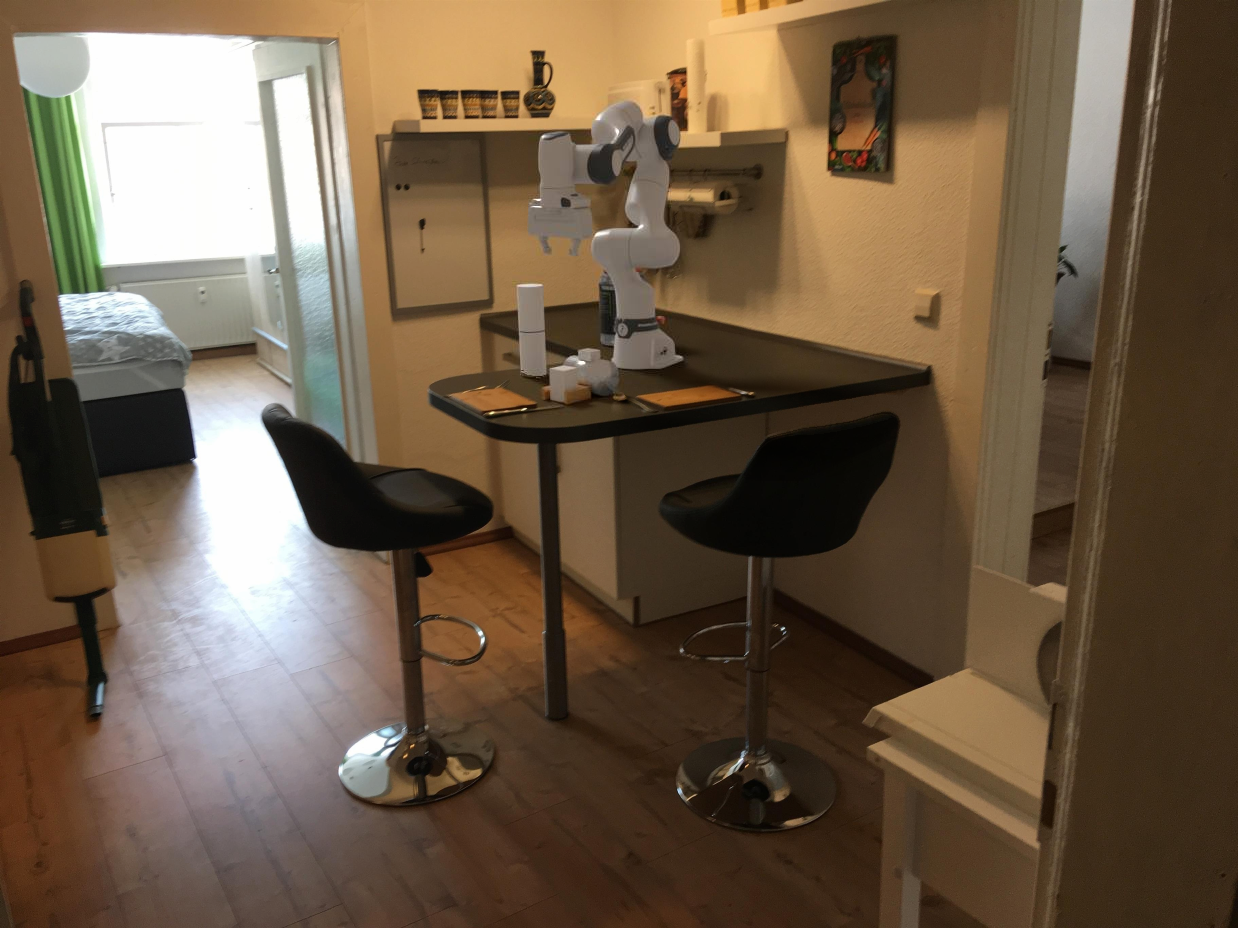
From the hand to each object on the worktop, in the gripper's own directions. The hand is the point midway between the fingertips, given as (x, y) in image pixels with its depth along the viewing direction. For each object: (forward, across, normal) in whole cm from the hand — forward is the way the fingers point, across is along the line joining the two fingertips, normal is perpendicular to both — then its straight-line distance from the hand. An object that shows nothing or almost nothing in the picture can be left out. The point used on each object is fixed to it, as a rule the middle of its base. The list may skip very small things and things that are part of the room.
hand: (560, 255), depth 256 cm
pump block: (+34, +11, -12) cm, 38 cm away
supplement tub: (+37, -30, +58) cm, 74 cm away
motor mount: (+34, +11, -7) cm, 36 cm away
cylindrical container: (+35, -17, +4) cm, 39 cm away
